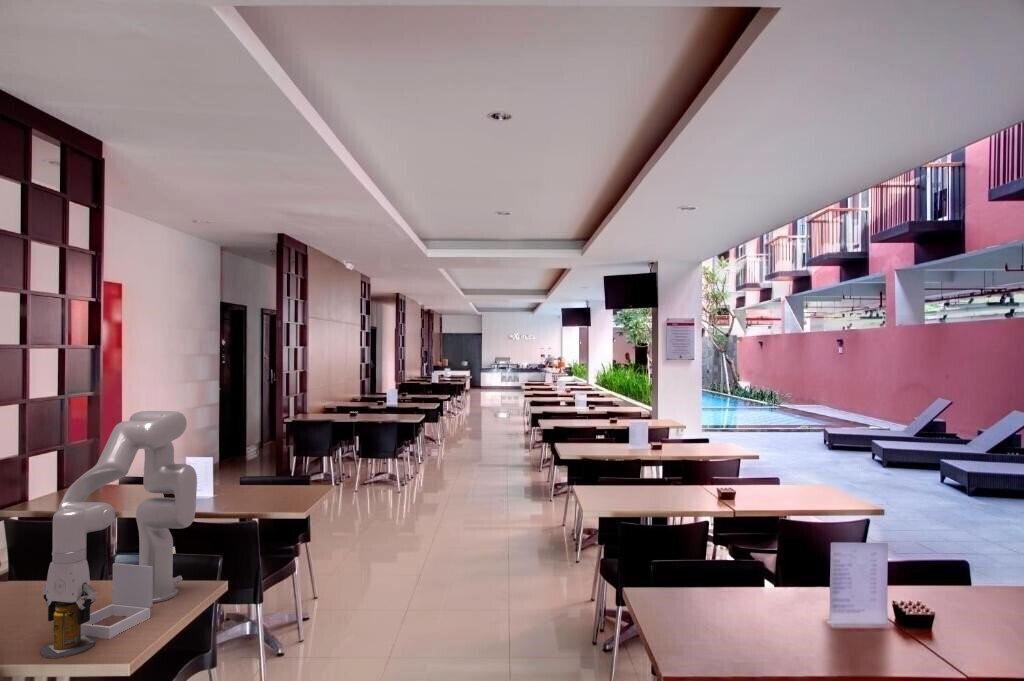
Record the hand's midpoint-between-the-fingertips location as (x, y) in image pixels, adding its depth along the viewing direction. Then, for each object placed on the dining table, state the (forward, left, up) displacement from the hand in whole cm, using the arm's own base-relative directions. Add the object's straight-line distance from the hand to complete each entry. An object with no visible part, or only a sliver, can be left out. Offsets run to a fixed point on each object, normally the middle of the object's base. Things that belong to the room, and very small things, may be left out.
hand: (68, 621), depth 176 cm
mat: (0, 0, -7) cm, 7 cm away
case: (-14, -1, -7) cm, 16 cm away
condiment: (0, +1, -6) cm, 7 cm away
